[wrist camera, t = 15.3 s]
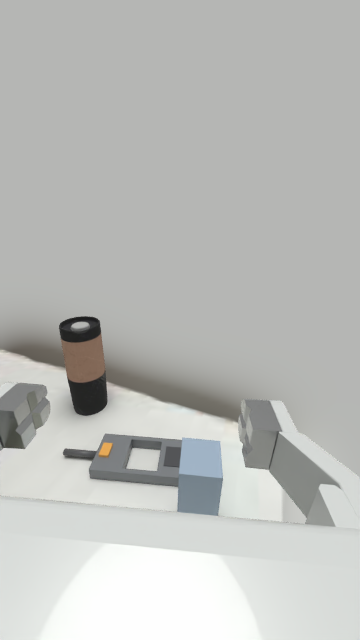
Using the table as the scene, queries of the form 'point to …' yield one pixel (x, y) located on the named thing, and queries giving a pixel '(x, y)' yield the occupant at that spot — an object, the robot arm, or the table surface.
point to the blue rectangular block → (200, 477)
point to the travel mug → (84, 363)
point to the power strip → (116, 454)
